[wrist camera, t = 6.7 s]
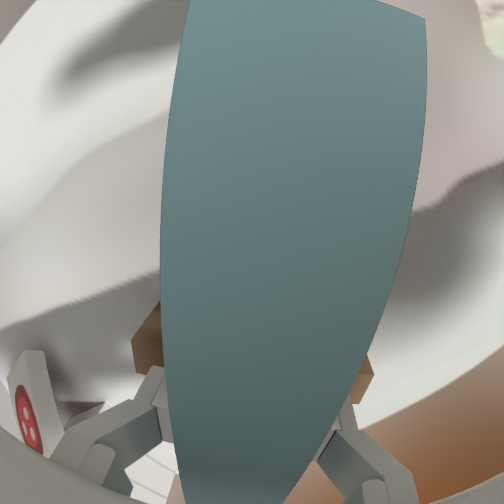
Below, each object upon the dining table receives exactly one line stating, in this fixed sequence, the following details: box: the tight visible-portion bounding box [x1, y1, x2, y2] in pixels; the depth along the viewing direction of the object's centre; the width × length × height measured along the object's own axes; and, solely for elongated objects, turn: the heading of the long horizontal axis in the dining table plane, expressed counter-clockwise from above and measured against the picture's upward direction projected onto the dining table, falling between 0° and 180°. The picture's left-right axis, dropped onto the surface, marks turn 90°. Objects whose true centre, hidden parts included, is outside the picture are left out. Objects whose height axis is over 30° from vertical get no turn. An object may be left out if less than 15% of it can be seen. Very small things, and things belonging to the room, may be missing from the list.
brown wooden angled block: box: [131, 302, 374, 404], centre depth 21 cm, size 16×3×8 cm, turn 83°
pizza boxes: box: [7, 349, 177, 504], centre depth 26 cm, size 19×30×18 cm, turn 38°
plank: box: [160, 0, 427, 504], centre depth 9 cm, size 3×20×8 cm, turn 173°
